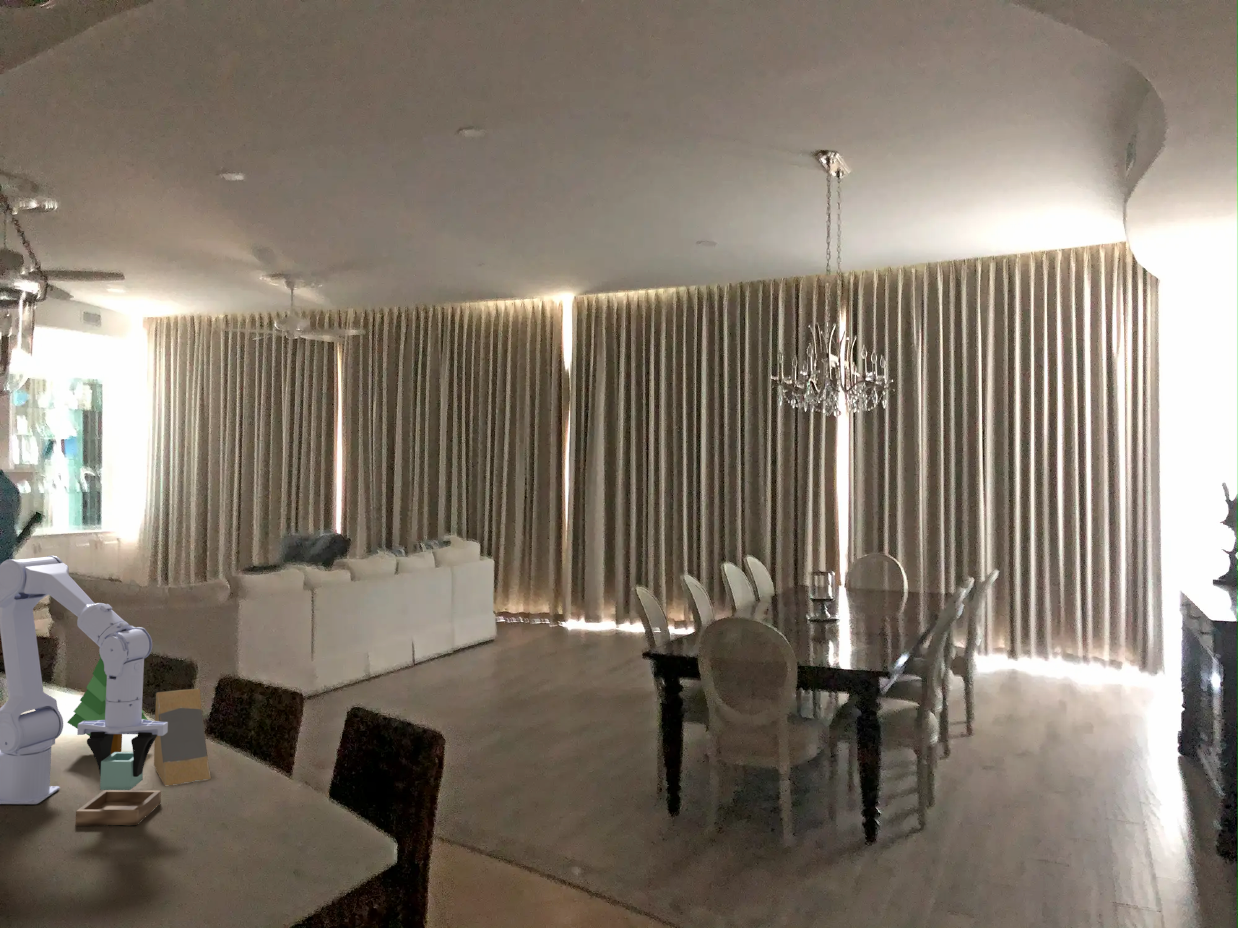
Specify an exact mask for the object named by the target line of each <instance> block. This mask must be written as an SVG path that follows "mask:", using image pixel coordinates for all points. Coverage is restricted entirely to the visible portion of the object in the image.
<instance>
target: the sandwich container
mask: <svg viewBox="0 0 1238 928" xmlns="http://www.w3.org/2000/svg"><path fill="white" fill-rule="evenodd" d="M201 698H202V697H201V688H191V689H189V688H188V689H179V690H178V689H177V690H169V691H168V690H166V691H158V692H156V693H155V711H154V712H155V713H154V715H155V716H154V721H159V722H168V732H167V733H166V734H165V735H163V736H157V737H156V739H155V740H154V742H153V744H154V745H153V746H154V748H153V749H154V750H153V751H154V752H153V765H154V767H155V770H156V771H155V772H156V773H157V774H158V776H159V778H160V777H161V778H160V780H161V781H162V783H163V782H164V783H163V784H164V786H165V785H173V784H180V785H182V784H181V783H184V782H192V781H195V780H203V779H210V780H211V779H212V777H211V771H210V764H209V758H208V749H207V748H208V747H207V743H206V735H205V734H206V731H205V723H204V716H203V709H202V699H201ZM173 786H174V785H173Z"/></svg>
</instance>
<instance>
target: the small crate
mask: <svg viewBox="0 0 1238 928" xmlns="http://www.w3.org/2000/svg"><path fill="white" fill-rule="evenodd" d="M133 761H134V757H133V751H129V752H128V751H121V752H114V753H113V754H111V755H110V756H108V757H107V758H105V759H104V760H103V761H101V777H100V781H99V782H100V783H99V790H100V791H104V790H133V788H135V787H136V786H137V785H138V784H139V783H141V782H142V781H143V779H144V778H143V777H144V774H143V773H144V770H143V771H142V774H140V775H139V776H138V777H133Z"/></svg>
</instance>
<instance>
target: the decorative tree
mask: <svg viewBox="0 0 1238 928" xmlns="http://www.w3.org/2000/svg"><path fill="white" fill-rule="evenodd" d="M98 656H99V660H97V661H98V662H97V664H96V666H95V668H94V670H93V672H92V676H91V677H92V678H91V679H90V681H88V684H87V686H86V687H85V688H86V689H87V690H86V691H85V692H84V693H83V694H82V696H81V698H80V699H79V701H80V703H79V704H78V706H77V707H76V708H75V709H74V710H73V713H74V714H73V716H71V718H69V720H67V722H66V723H67V724H68V725H69V724H70V725H71V726H72V727H74V728H75V729H77V730H78V724H79V723H81V722H82V721H96V720H105V709H106V686H107V675H106V674H105V671H104V662H103V660H102V659H101V656H100V653H99V654H98ZM142 719H143V720H149V719H148V718H147V717H146V715H145V711H144V710H143V709H142ZM86 735H87V736H88V737H90V734H86ZM122 743H123V734H114V736H113V741H112V747H111V754H113V753H114V752H122V746H123V745H122Z"/></svg>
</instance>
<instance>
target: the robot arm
mask: <svg viewBox="0 0 1238 928" xmlns="http://www.w3.org/2000/svg"><path fill="white" fill-rule="evenodd" d="M47 596H50V597H51V598H53V599H54V600H55V601H57V602H58V603H59V604H61V606H62V607H64V608H65V609H67V610H68V611H70V612H71V613H72V614H73V615H75V616H76V617H77V620H76V625H77V628H78V629H79V630H81V631H82V632H83V633H84V634H85V635H86V636H87V637H88V638H89V639H91V641H92V642H94V643H95V644H96V645H97V646H98V647H99V649H98V651H99V654H100V656H101V659H102V660H103V662H104V671H105V674H106V675H107V686H106V709H105V720H96V721H82V722H81V723H79V724H78V729H77V735H78V736H81V735H87V734H90V736H89V738H87V739H86V744H87V746H88V748H90V751H91V752H92V754H93V757H94V758H95V761H96V765H97V769H98V772H99V776H100V778H101V761H103V760H104V759H105V758H107V757H108V756H110V755H111V747H112V741H113V736H114V734H122V735H137V736H135V737H132V738H131V741H130V742H131V747H132V752H133V757H134V761H133V777H138V776H139V775H140V774H142V771H143V772H144V766H145V762H146V760H147V756H148V754H149V752H150V750H151V747H152V746H153V744H154V742H155V739H156V737H157V736H163V735H165V734H166V733H167V732H168V722H159V721H155V720H151V719H148V720H143V719H142V710H143V696H144V695H143V692H144V691H143V689H144V670H145V668H144V667H145V659H146V658H147V657H149V656H150V654H151V653H152V650H153V639H152V636H151V635H150V634H149V632H148V631H147V629H146V628H145V627H142V626H141V627H140V626H137V627H136V626H134V625H130V623H128V622H127V621H125V619H123V618H122V617H121V616H120V615H118V614H117V613H116V612H115V611H114V610H113V606H112V605H110V604H109V603H103V602H97V603H96V602H94V601H93V600H92V599H91V598H90V596H89V595H88V594H87V593H86V592H85V591H84V590H83V589H82V588H81V587H80V585H78V583H77V582H76V581H75V580H74V579H73V578H72V577H71V576H70V569H69V566H68V565H67V564H66V563H64V562H63V560H62V559H61V558H60V557H58V556H56V555H47V556H41V557H32V558H23V559H22V558H21V559H20V558H19V559H11V558H9V559H6V560H4V561H3V562H1V563H0V641H1V648H2V649H1V650H2V657H3V664H4V671H5V678H6V686H7V687H6V688H7V694H8V699H7V701H6V702H5V703H4V704H3V705H2V706H1V707H0V805H38V804H40V803H41V802H43V801H44V800H46V799H47V798H49V797H50V796H51V795H53V794H54V793H56V792H58V791H59V790H60V788H61V787H60V786H58V785H55V786H53V785H51V769H52V768H51V767H52V766H51V764H52V762H51V761H52V746H54V745H56V739H57V738H59V736H61V734H62V732H63V729H64V718H63V716H62V714H61V712H60V711H59V708H58V702H57V699H56V698H54V697H52V696H51V695H50V694H47V693H45V691H44V686H43V685H44V684H43V678H42V671H41V663H40V655H39V647H38V639H37V630H36V625H35V617H34V616H35V615H34V608H35V607H36V606H37V605H38V603H39V602H40V601H42V600H43V599H45V598H46V597H47ZM100 656H99V657H100ZM32 710H33V711H32ZM28 711H29V712H28ZM25 712H26V713H25Z"/></svg>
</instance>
